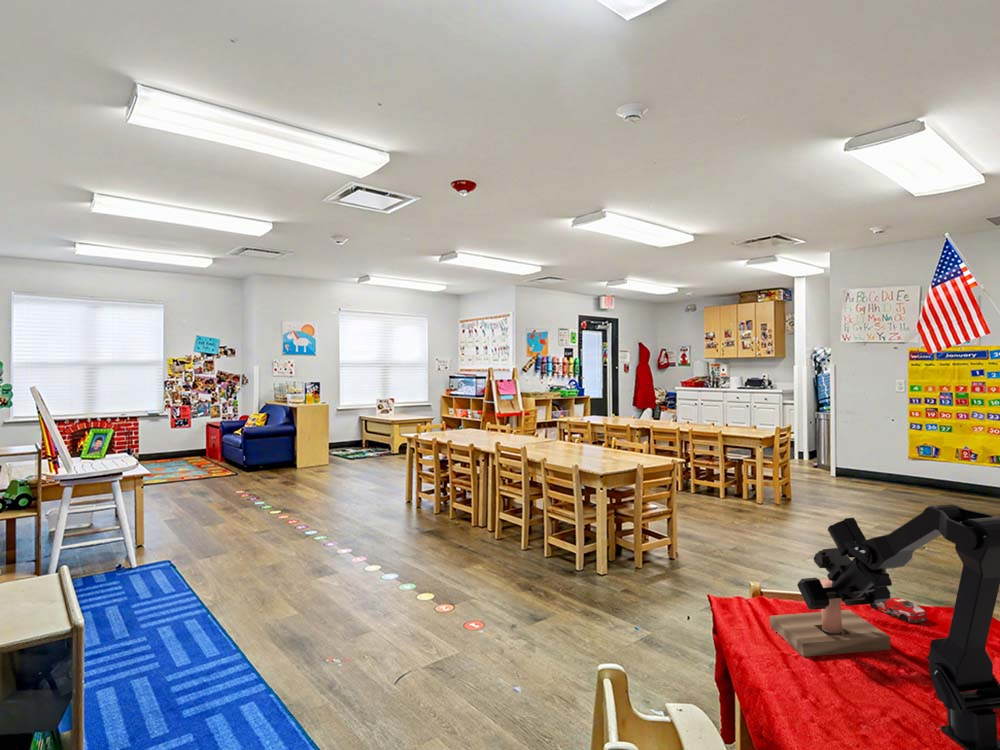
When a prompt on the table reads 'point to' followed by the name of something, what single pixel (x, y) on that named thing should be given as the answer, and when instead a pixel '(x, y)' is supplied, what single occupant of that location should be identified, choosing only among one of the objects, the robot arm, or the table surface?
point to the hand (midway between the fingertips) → (827, 605)
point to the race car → (902, 610)
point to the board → (813, 642)
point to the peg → (831, 614)
